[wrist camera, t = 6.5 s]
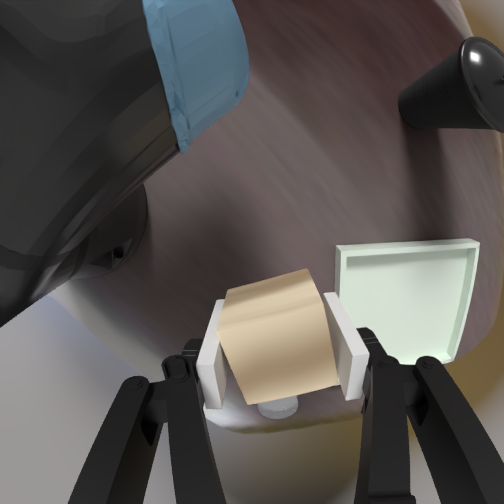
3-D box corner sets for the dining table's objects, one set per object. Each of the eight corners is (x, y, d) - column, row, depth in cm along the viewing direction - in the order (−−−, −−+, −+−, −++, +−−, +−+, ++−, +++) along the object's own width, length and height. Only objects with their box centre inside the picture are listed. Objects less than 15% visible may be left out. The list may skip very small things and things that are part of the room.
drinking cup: (373, 87, 24) (500, 10, 5) (422, 69, 23) (543, 12, 4) (407, 151, 26) (560, 149, 7) (451, 128, 25) (589, 118, 6)
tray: (328, 374, 34) (331, 385, 31) (335, 245, 29) (340, 251, 27) (446, 352, 33) (453, 360, 31) (469, 238, 28) (479, 242, 26)
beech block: (227, 289, 18) (215, 331, 13) (307, 268, 17) (323, 304, 12) (251, 353, 19) (247, 404, 14) (322, 336, 18) (338, 384, 14)
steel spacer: (259, 386, 34) (258, 419, 29) (257, 360, 33) (256, 393, 27) (293, 384, 34) (297, 417, 28) (293, 358, 33) (298, 391, 27)
